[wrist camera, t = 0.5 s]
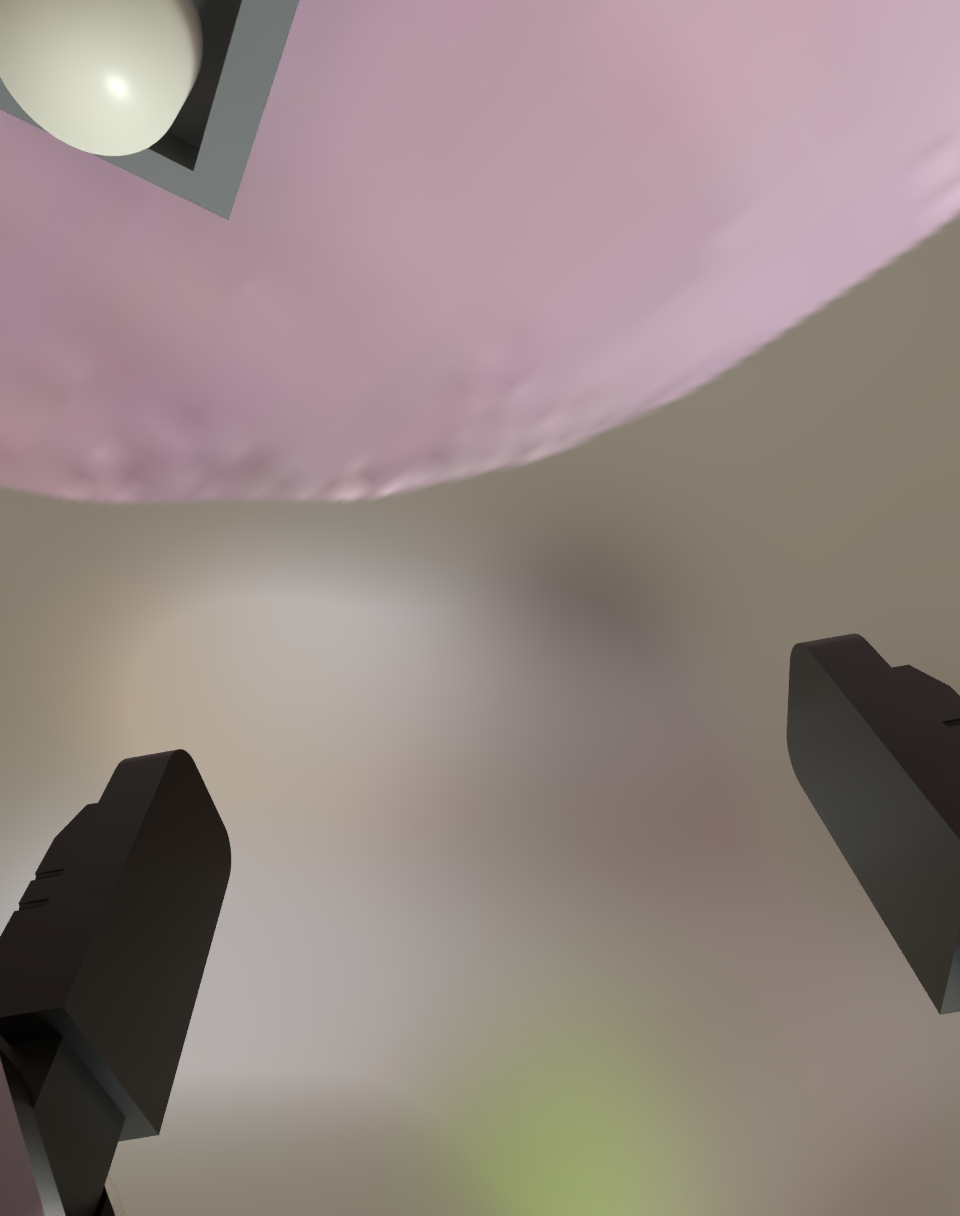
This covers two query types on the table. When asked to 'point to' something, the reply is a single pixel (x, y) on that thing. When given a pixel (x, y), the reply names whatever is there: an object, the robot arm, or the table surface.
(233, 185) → the board
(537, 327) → the table surface
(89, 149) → the button
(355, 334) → the table surface
